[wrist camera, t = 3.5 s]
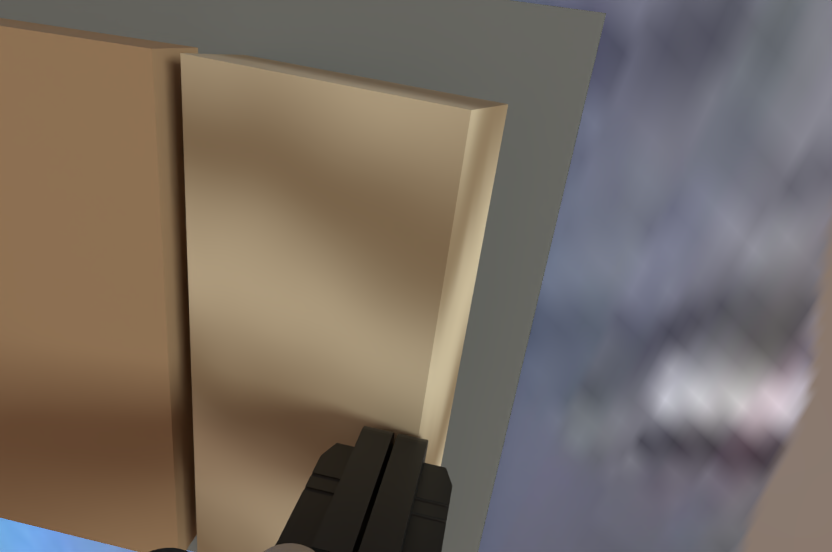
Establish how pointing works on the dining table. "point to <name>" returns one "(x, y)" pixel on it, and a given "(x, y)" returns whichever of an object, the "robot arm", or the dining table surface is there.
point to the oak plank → (321, 272)
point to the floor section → (167, 237)
